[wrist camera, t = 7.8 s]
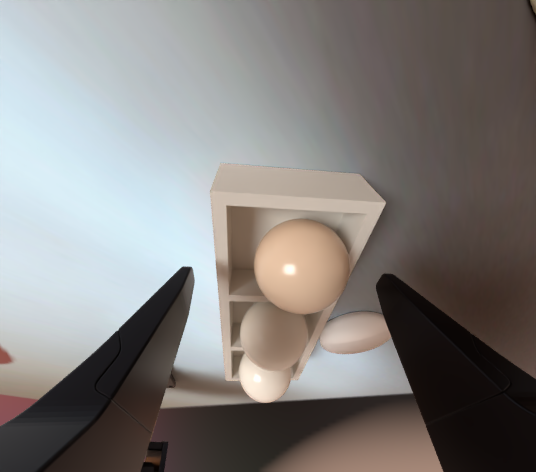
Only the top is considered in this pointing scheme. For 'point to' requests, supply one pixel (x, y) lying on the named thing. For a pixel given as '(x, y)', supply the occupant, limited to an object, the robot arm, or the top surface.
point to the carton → (268, 216)
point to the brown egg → (301, 266)
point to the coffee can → (533, 5)
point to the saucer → (354, 333)
